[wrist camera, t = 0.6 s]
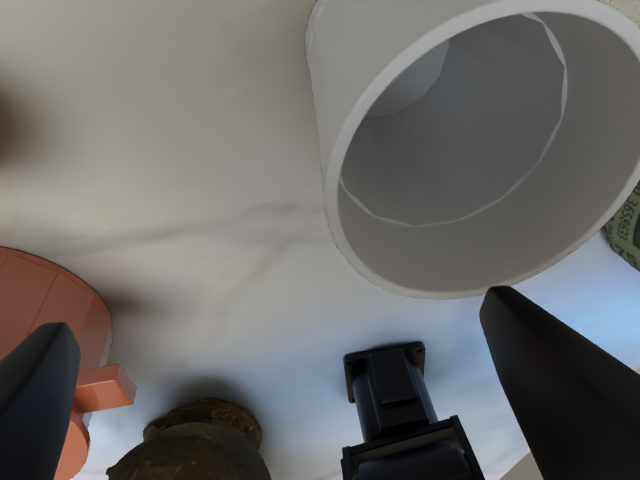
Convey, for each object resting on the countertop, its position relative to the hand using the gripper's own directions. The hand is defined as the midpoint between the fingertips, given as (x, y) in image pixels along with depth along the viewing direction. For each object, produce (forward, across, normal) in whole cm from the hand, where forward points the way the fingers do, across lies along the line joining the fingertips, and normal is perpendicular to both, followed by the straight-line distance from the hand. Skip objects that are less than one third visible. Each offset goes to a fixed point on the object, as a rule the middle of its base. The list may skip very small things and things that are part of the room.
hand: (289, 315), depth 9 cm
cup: (+14, -5, -2) cm, 15 cm away
